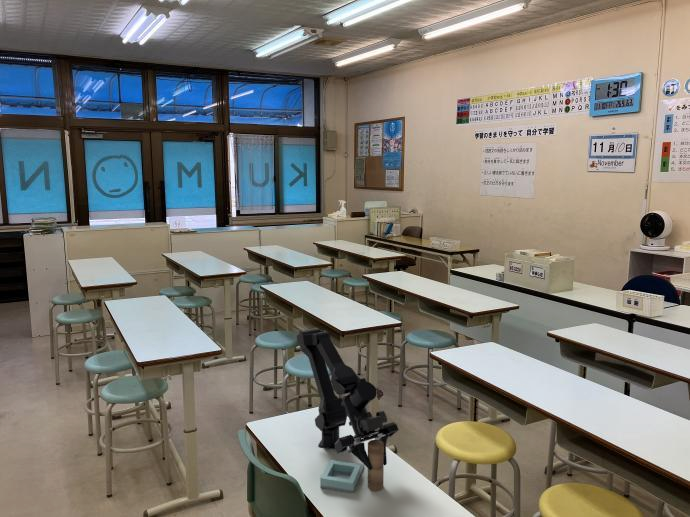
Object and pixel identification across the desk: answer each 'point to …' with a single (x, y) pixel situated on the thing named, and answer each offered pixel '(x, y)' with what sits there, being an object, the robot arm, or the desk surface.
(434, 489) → the desk surface
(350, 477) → the light blue hollow frame
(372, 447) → the dowel peg
